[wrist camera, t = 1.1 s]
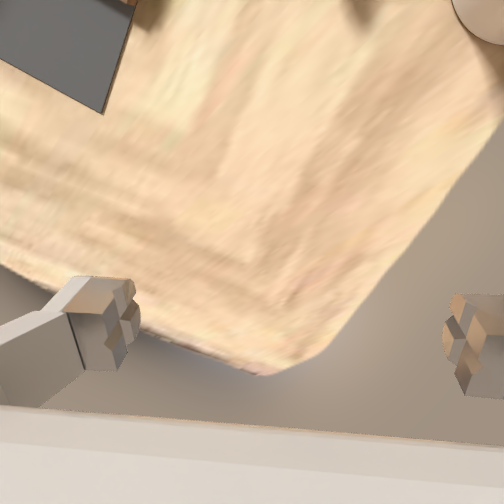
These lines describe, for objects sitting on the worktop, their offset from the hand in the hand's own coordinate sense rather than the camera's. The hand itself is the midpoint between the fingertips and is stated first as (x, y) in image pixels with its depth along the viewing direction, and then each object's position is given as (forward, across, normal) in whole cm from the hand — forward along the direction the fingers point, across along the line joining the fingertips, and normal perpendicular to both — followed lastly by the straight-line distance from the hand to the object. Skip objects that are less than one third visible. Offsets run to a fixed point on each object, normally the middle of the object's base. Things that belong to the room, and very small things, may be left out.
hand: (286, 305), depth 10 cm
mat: (+38, +28, -8) cm, 47 cm away
